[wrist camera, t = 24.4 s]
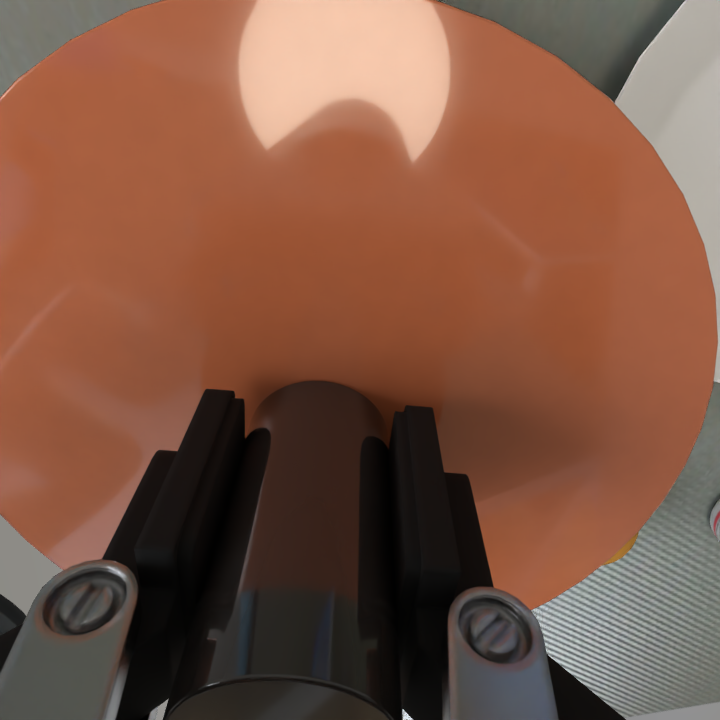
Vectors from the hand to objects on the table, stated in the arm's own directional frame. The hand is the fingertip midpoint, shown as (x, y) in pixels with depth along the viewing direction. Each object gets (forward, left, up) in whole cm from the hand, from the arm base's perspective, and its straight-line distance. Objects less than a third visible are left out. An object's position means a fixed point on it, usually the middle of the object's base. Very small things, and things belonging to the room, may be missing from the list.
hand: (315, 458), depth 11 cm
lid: (0, 0, -1) cm, 1 cm away
